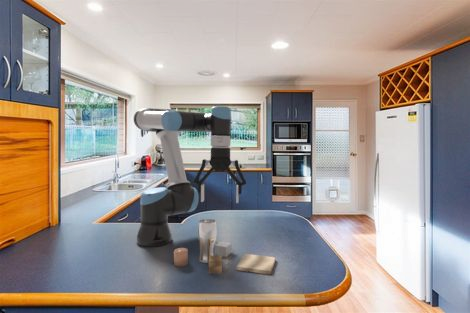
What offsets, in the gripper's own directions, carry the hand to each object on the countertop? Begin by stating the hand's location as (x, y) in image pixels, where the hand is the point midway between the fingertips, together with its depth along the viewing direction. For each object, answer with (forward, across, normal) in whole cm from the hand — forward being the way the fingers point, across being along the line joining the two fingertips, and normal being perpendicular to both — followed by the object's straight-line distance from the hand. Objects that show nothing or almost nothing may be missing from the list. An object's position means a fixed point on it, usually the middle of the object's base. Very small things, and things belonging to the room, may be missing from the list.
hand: (219, 201), depth 112 cm
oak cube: (+22, 0, -13) cm, 25 cm away
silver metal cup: (+22, -4, -4) cm, 22 cm away
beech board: (+21, +15, -7) cm, 27 cm away
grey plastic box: (+22, +1, +2) cm, 22 cm away
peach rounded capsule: (+22, -13, -8) cm, 27 cm away
